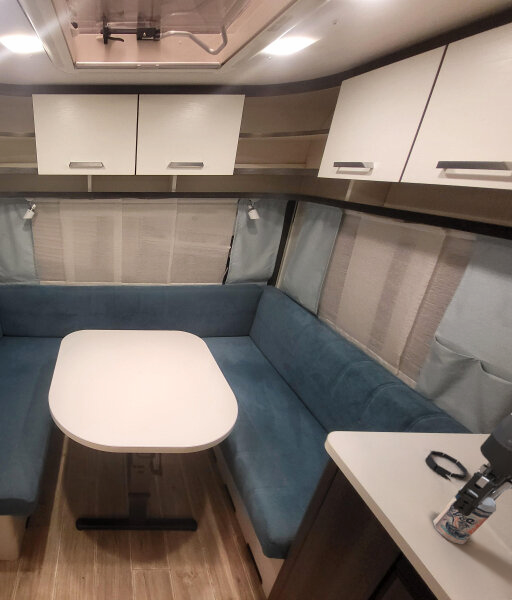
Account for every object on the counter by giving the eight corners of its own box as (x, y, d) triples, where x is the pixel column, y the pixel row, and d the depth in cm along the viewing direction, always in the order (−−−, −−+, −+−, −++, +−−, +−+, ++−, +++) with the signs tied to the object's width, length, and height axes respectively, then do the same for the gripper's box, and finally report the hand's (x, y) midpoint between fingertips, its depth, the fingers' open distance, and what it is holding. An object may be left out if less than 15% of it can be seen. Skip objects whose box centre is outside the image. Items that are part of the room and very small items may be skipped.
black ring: (448, 459, 80) (452, 453, 79) (470, 484, 74) (475, 478, 73) (418, 454, 81) (422, 448, 80) (438, 478, 75) (443, 472, 74)
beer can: (432, 532, 63) (463, 495, 58) (431, 514, 67) (461, 478, 61) (465, 551, 60) (501, 514, 55) (462, 531, 64) (497, 495, 59)
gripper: (539, 477, 47) (478, 537, 54) (579, 453, 52) (519, 511, 59) (474, 438, 53) (427, 496, 60) (515, 420, 58) (467, 476, 65)
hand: (472, 504), depth 59 cm, fingers open, 8 cm apart
